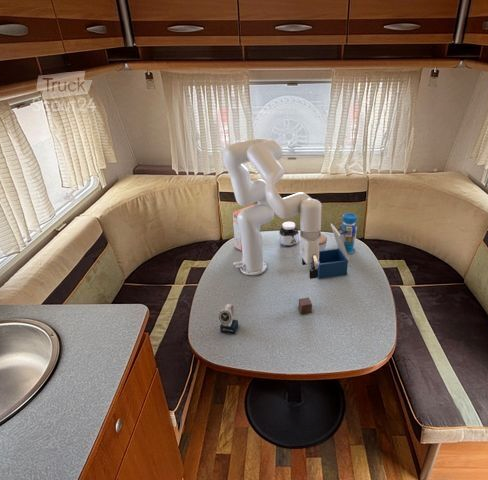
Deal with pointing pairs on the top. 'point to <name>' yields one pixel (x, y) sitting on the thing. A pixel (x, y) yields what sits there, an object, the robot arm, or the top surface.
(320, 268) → the case
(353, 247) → the beverage bottle
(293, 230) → the spread jar
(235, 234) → the cracker box
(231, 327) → the watch
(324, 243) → the trinket box
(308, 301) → the block
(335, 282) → the top surface
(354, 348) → the top surface
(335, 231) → the lid
